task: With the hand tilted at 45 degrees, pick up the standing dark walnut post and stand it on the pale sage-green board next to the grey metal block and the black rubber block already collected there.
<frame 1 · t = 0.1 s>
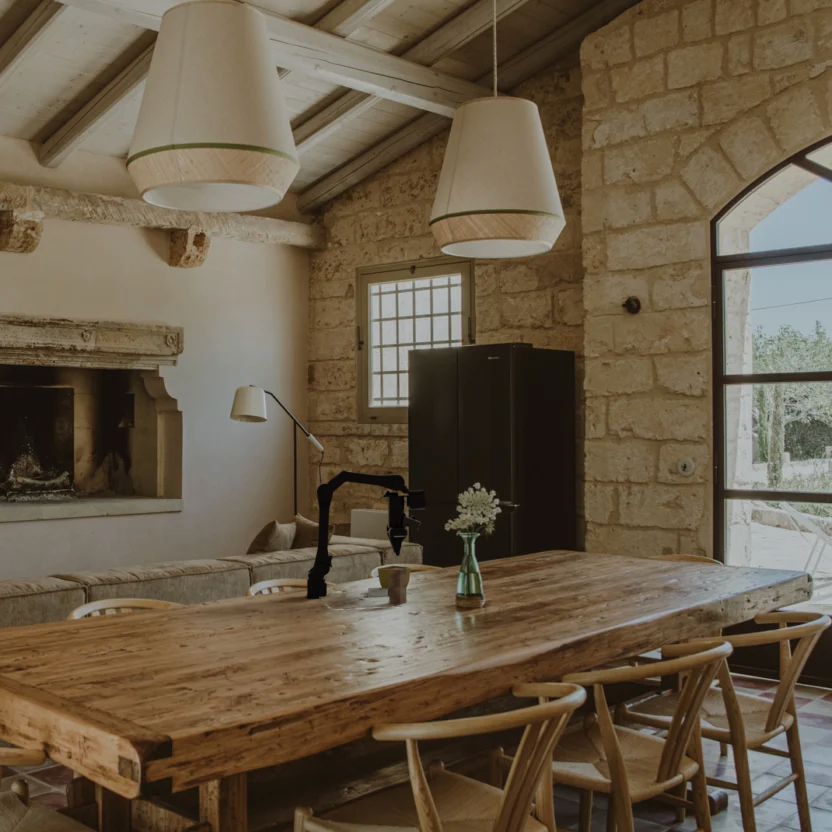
hand: (396, 554, 354), 15 cm above the table, tool pointing down, fingers open, 9 cm apart
sage board: (389, 599, 346), on the table
black rubber block: (395, 595, 351), point 1 cm above the table, touching sage board
flower pot: (394, 593, 360), on the table
walnut post: (397, 605, 335), on the table
grey metal block: (378, 595, 350), point 1 cm above the table, touching sage board
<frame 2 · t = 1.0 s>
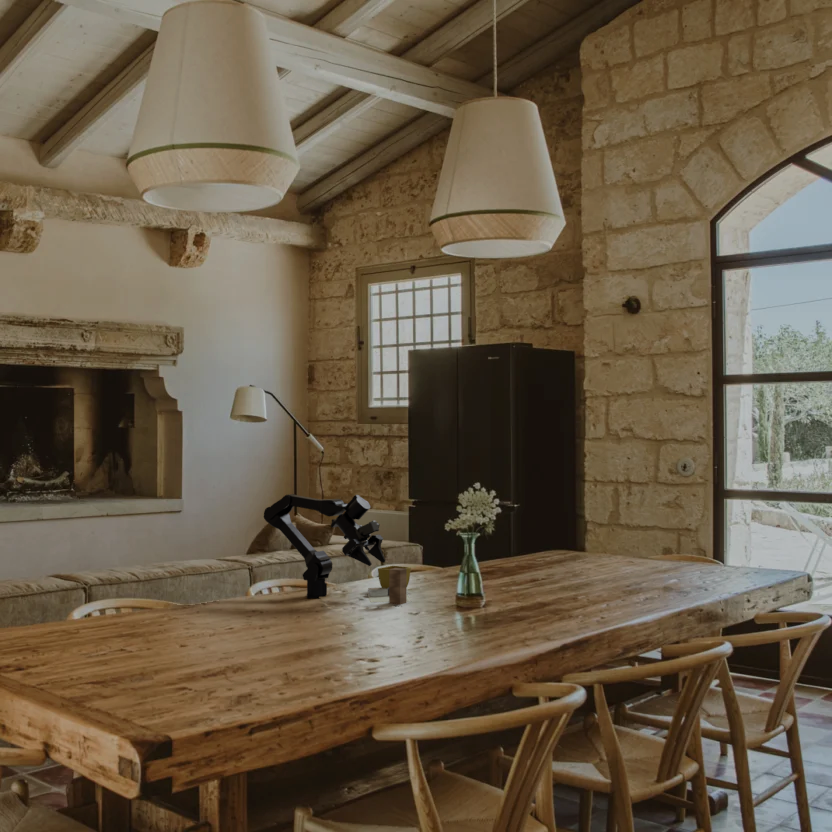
hand: (377, 563, 339), 13 cm above the table, tool tilted 45°, fingers open, 9 cm apart
nothing on the table moved.
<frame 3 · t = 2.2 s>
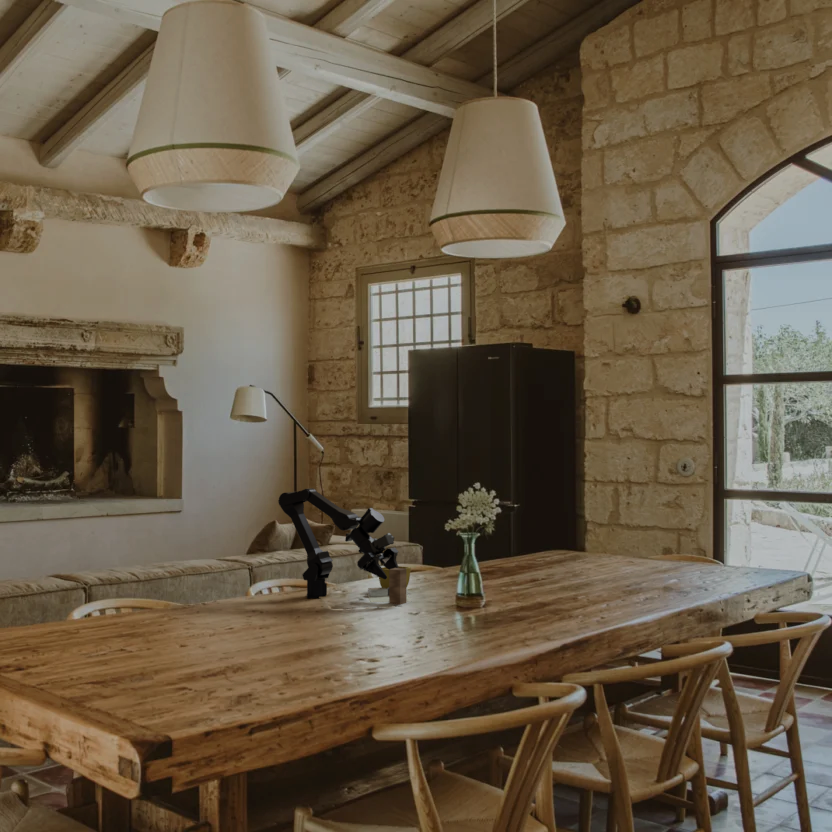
hand: (393, 576, 336), 9 cm above the table, tool tilted 45°, fingers open, 9 cm apart
nothing on the table moved.
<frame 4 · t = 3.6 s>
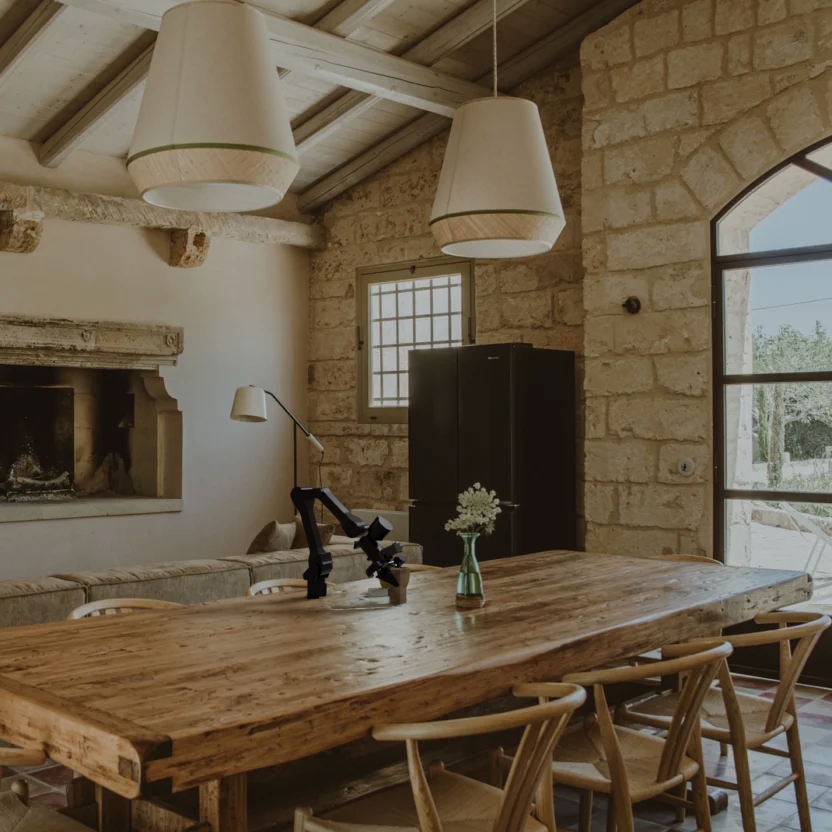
hand: (401, 585, 334), 7 cm above the table, tool tilted 45°, fingers closed on walnut post, 4 cm apart
walnut post: (397, 605, 335), on the table, touching gripper
everything else where it was.
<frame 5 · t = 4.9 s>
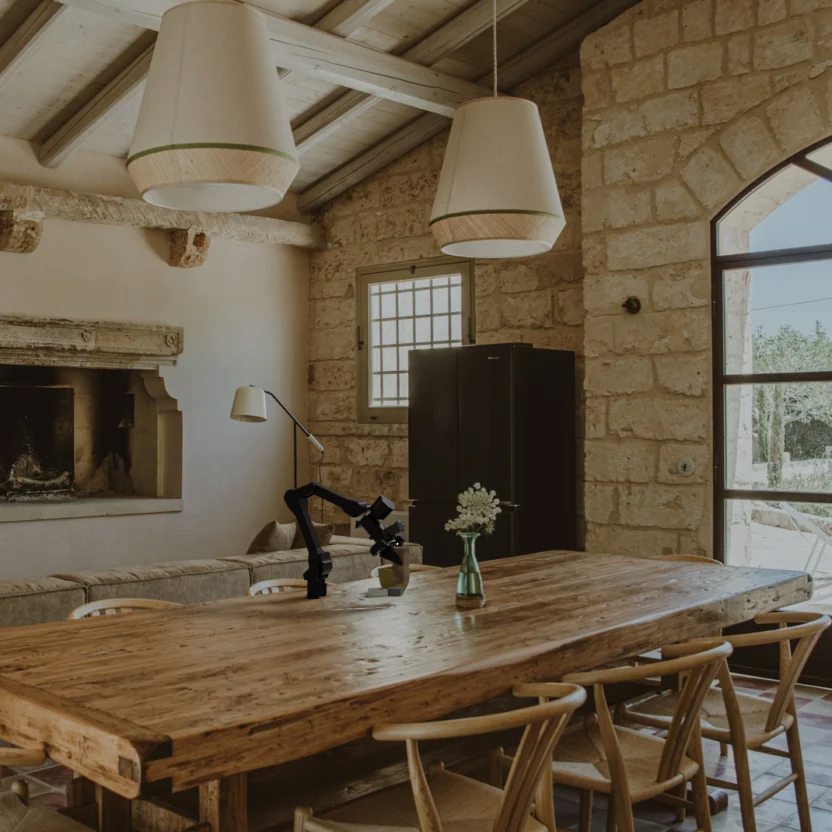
hand: (404, 563, 337), 13 cm above the table, tool tilted 45°, fingers closed on walnut post, 4 cm apart
walnut post: (400, 583, 337), point 7 cm above the table, touching gripper
everything else where it was.
when the fingers open (9 cm above the table, at t = 6.5 s): walnut post drops 2 cm, resting on sage board.
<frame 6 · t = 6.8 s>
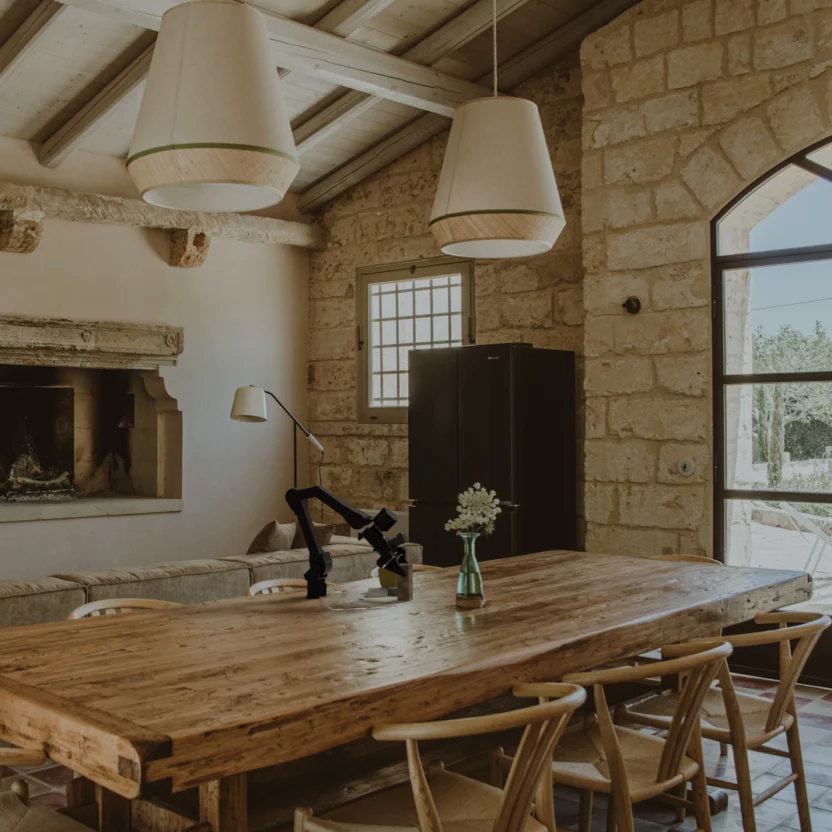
hand: (408, 574, 341), 9 cm above the table, tool tilted 45°, fingers open, 7 cm apart
walnut post: (405, 599, 341), point 1 cm above the table, touching sage board
everything else where it was.
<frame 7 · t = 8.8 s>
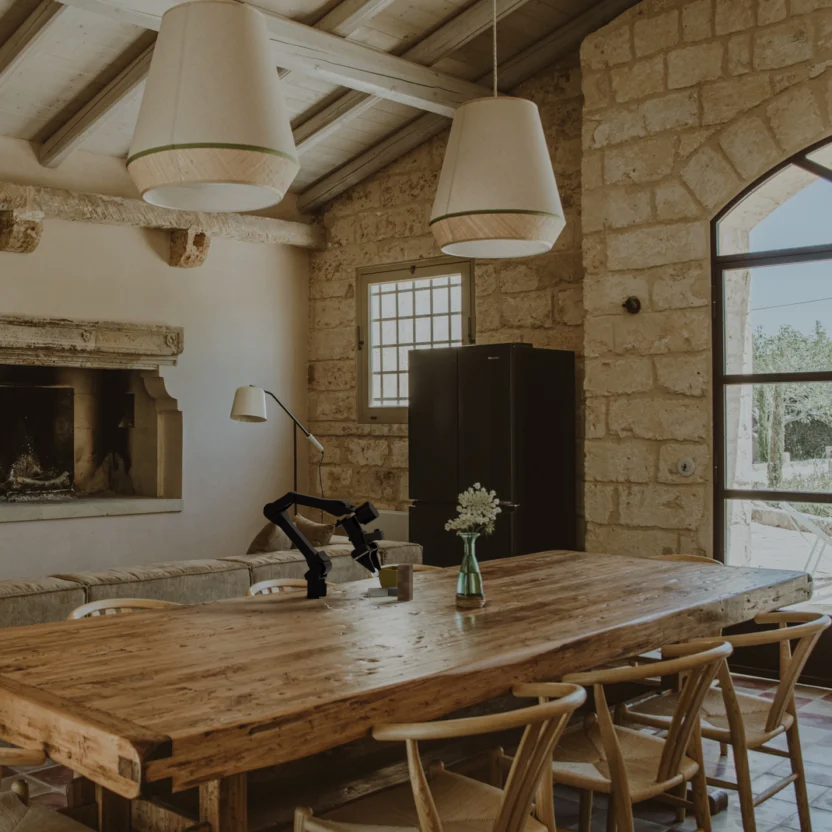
hand: (377, 571, 345), 10 cm above the table, tool tilted 30°, fingers open, 9 cm apart
nothing on the table moved.
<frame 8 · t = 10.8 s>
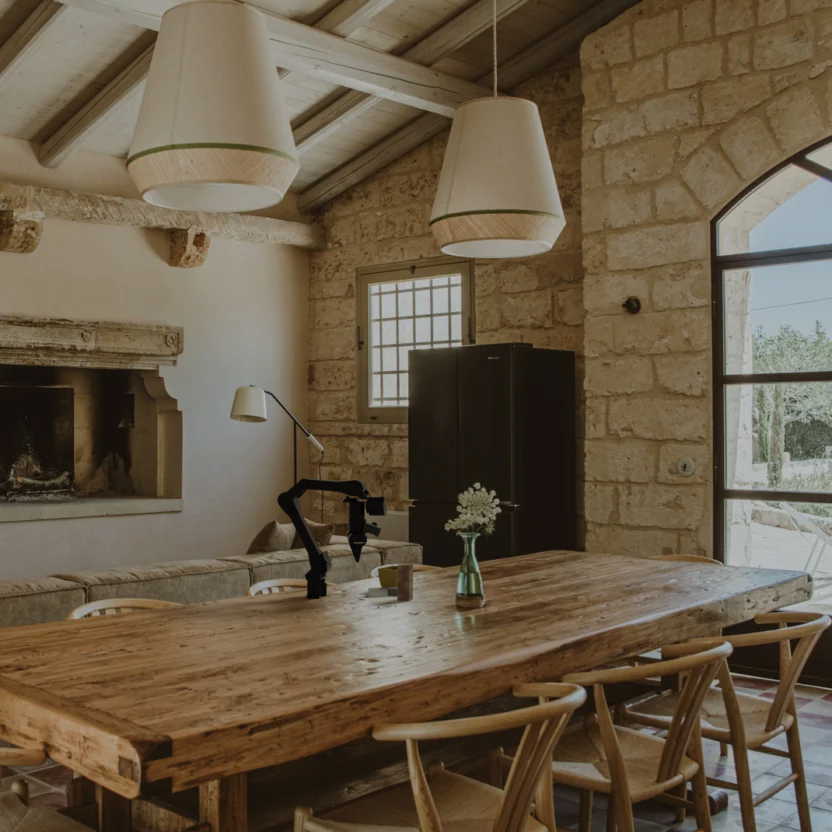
hand: (356, 560, 349), 13 cm above the table, tool pointing down, fingers open, 9 cm apart
nothing on the table moved.
at the end: walnut post inside the target area on the sage board (7.0 cm from its centre), point 0.6 cm above the sage board's base; walnut post tilted 0°; the gripper is holding nothing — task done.
